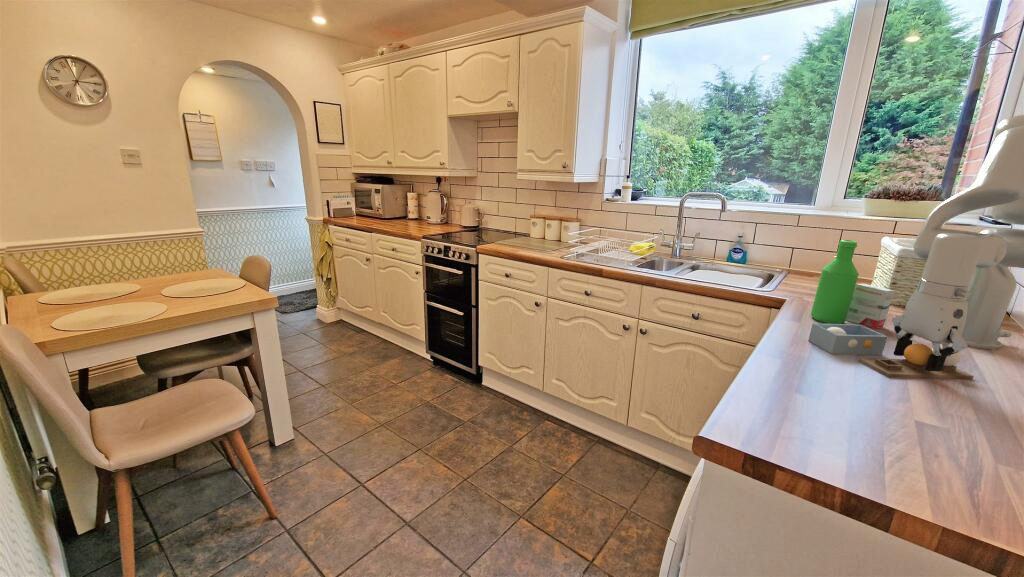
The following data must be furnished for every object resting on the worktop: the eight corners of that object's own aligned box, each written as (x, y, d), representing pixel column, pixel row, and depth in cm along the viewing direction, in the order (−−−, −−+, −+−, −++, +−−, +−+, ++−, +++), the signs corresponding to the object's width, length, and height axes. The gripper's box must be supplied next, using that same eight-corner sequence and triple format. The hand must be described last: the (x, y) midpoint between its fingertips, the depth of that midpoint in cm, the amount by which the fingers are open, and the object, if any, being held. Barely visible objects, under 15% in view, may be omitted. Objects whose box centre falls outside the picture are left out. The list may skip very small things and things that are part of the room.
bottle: (850, 326, 124) (874, 244, 117) (818, 323, 126) (840, 242, 119) (835, 316, 132) (856, 239, 125) (804, 314, 134) (824, 237, 127)
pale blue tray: (855, 341, 113) (860, 324, 111) (882, 355, 105) (888, 337, 103) (808, 340, 112) (812, 323, 111) (832, 354, 104) (837, 335, 103)
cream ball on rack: (941, 360, 100) (948, 341, 98) (963, 370, 95) (971, 350, 93) (921, 359, 99) (927, 340, 98) (942, 369, 95) (950, 349, 93)
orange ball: (915, 359, 99) (921, 340, 98) (936, 369, 94) (943, 349, 93) (895, 359, 99) (901, 339, 98) (915, 369, 94) (922, 348, 93)
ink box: (884, 327, 125) (895, 289, 122) (875, 329, 123) (887, 291, 119) (851, 317, 132) (862, 282, 129) (843, 319, 130) (853, 283, 127)
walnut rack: (936, 362, 101) (939, 356, 101) (972, 379, 94) (975, 371, 93) (858, 361, 101) (860, 354, 100) (887, 377, 93) (890, 370, 92)
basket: (986, 320, 136) (1011, 255, 130) (881, 304, 148) (899, 244, 142) (953, 299, 158) (974, 243, 152) (865, 287, 171) (880, 235, 165)
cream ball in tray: (834, 341, 111) (839, 324, 109) (849, 349, 106) (854, 331, 104) (816, 341, 110) (820, 323, 109) (830, 349, 106) (835, 331, 104)
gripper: (1003, 302, 83) (971, 381, 88) (919, 280, 100) (896, 347, 105) (967, 301, 83) (938, 380, 88) (889, 279, 100) (868, 346, 105)
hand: (916, 362), depth 97 cm, fingers open, 7 cm apart
